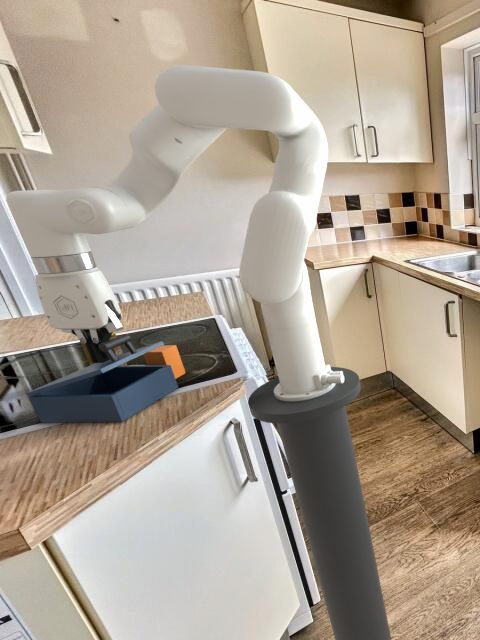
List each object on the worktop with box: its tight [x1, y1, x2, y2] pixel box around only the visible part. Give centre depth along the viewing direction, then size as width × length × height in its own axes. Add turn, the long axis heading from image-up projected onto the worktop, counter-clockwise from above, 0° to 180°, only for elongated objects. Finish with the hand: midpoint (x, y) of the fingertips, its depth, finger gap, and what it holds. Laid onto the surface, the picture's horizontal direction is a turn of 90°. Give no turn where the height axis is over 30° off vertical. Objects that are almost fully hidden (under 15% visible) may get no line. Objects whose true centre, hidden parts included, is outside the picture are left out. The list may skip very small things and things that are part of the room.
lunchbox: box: [27, 364, 179, 424], centre depth 83 cm, size 16×14×5 cm
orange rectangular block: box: [142, 344, 186, 380], centre depth 94 cm, size 4×4×7 cm
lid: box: [25, 334, 165, 397], centre depth 80 cm, size 16×14×5 cm
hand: (105, 360), depth 80 cm, fingers closed
